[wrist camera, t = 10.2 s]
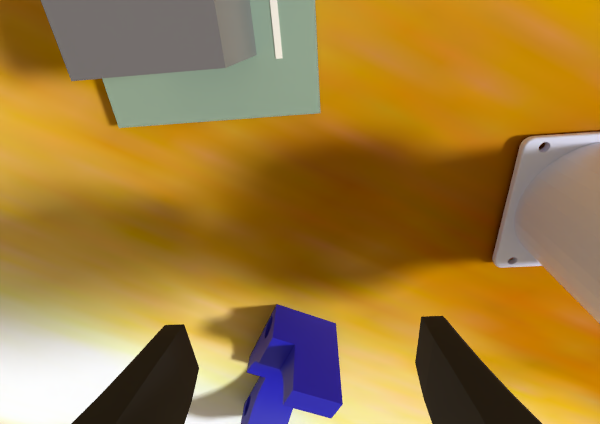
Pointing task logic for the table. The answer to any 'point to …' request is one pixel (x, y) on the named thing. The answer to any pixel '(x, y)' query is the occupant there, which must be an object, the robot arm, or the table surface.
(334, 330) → the cable clip
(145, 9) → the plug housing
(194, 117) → the board
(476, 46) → the table surface
